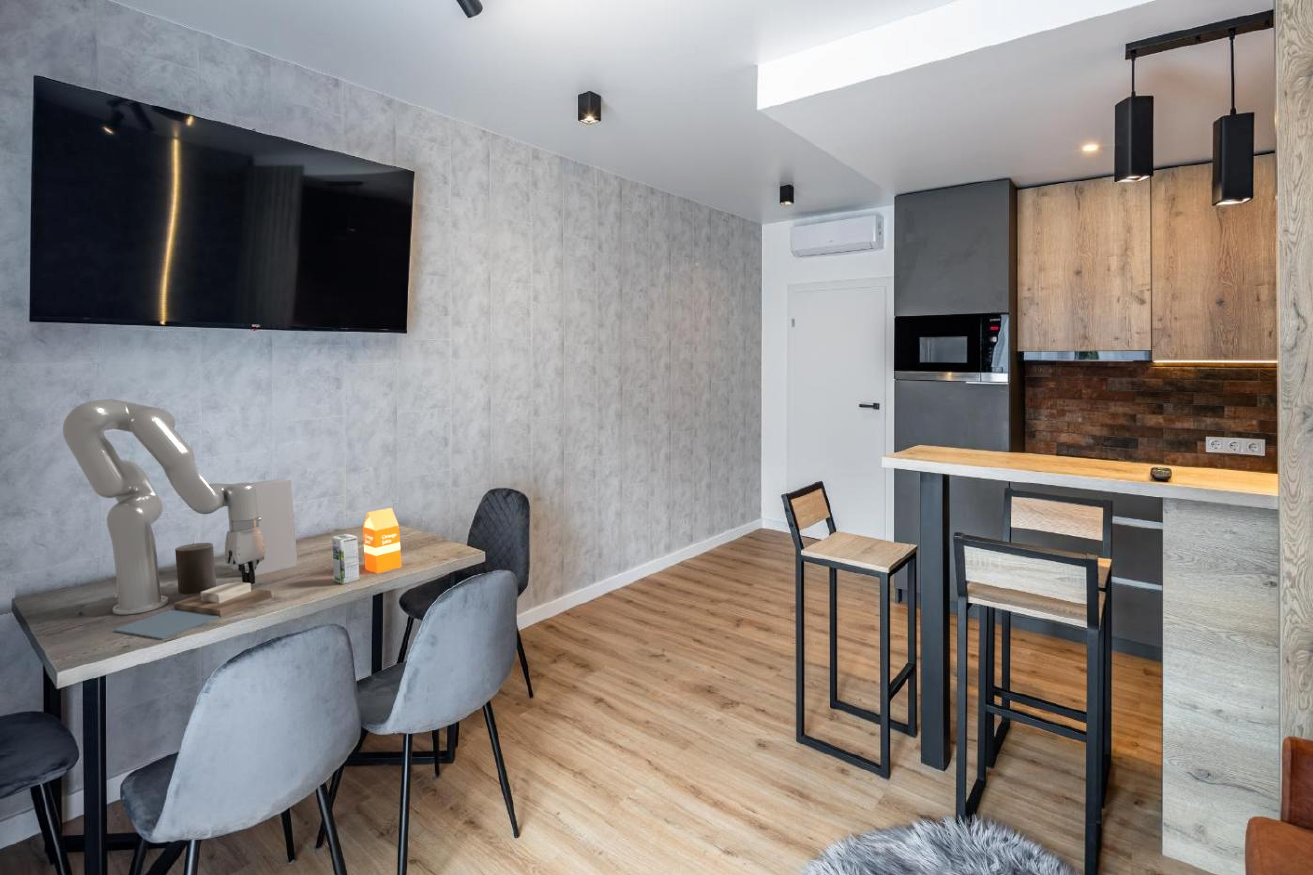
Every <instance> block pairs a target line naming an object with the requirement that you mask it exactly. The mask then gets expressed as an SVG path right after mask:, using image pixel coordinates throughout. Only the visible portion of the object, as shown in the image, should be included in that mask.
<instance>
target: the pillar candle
mask: <svg viewBox="0 0 1313 875" xmlns="http://www.w3.org/2000/svg"><path fill="white" fill-rule="evenodd" d="M174 550H175V563H176V564H175V565H176V577H177V591H178V593H179V594H181V595H193V594H194V595H195V594H201V592H202V591H205V590H208V589H211V588H214V587H217V578H216V567H215V565H216V564H215V556H214V555H215V553H214V552H215V551H214V543H211V542H198V543H197V542H196V543H194V542H192V543H189V544H184V545H181V546H178V547H176V548H174Z"/></svg>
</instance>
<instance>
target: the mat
mask: <svg viewBox="0 0 1313 875" xmlns="http://www.w3.org/2000/svg"><path fill="white" fill-rule="evenodd" d="M219 618H220V617H219V616H215V615H208V614H201V613H194V612H188V611H181V610H174V608H172V609H169V610H166V611H163V612H160V613H158V614H155V615H151V616H148V617H146V618H144V619H141V620H137V621H135V622H132V623H128V624H127V625H124V626H121V627H117V628H115V629H113V632H114V633H120V634H121V633H122V634H126V635H132V634H134V635H133V636H137V635H142V636H141V637H143V636H147V637H146V638H149V637H152V638H151V639H155V638H157V639H156V640H161V641H163V640H165V638H166V639H169V638H170V636H171V637H173V636H172V635H174V634H176V635H178V634H181V633H184V632H186V631H188V630H191V629H194V628H196V626H197V627H199V626H201V624H202V625H204V624H206V623H205V622H207V623H209V622H208V621H210V620H212V619H215V620H217V619H219ZM212 621H213V620H212ZM210 622H211V621H210ZM203 623H204V624H203ZM198 625H199V626H198ZM174 636H175V635H174Z"/></svg>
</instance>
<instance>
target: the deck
mask: <svg viewBox="0 0 1313 875" xmlns="http://www.w3.org/2000/svg"><path fill="white" fill-rule="evenodd" d="M271 598H273V597H272V590H267V589H265V590H264V589H259V588H252V587H251V592H248V593H245V594H243V595H240V596H237V597H234V598H232V599H229V600H226V601H224V602H221V603H215V602H208V601H201V593H199V594H197V595H195V596H192V597H191V596H190V597H188V598H186V599H183V600H179V601H177V602H174V603H173V609H174V610H181V611H188V612H194V613H201V614H208V615H215V616H219V618H222V616H223V617H225V616H227V615H230V614H232V613H235V612H238V611H240V610H243V609H245V607H246V608H248V607H250V605H251V606H253V605H256V604H258V603H260V602H264V601H266V600H268V599H271Z"/></svg>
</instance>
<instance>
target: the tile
mask: <svg viewBox="0 0 1313 875" xmlns="http://www.w3.org/2000/svg"><path fill="white" fill-rule="evenodd" d="M251 588H252V585H251V583H245V582H242V581H235V580H232V581H230V582H227V583H224V584H223V583H222V584H221V585H216V587H214V588H211V589H208V590H205V591H202V592H201V593H200V594H201V601H208V602H215V603H221V602H224V601H226V600H229V599H232V598H234V597H237V596H240V595H243V594H245V593H248V592H251Z"/></svg>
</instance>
